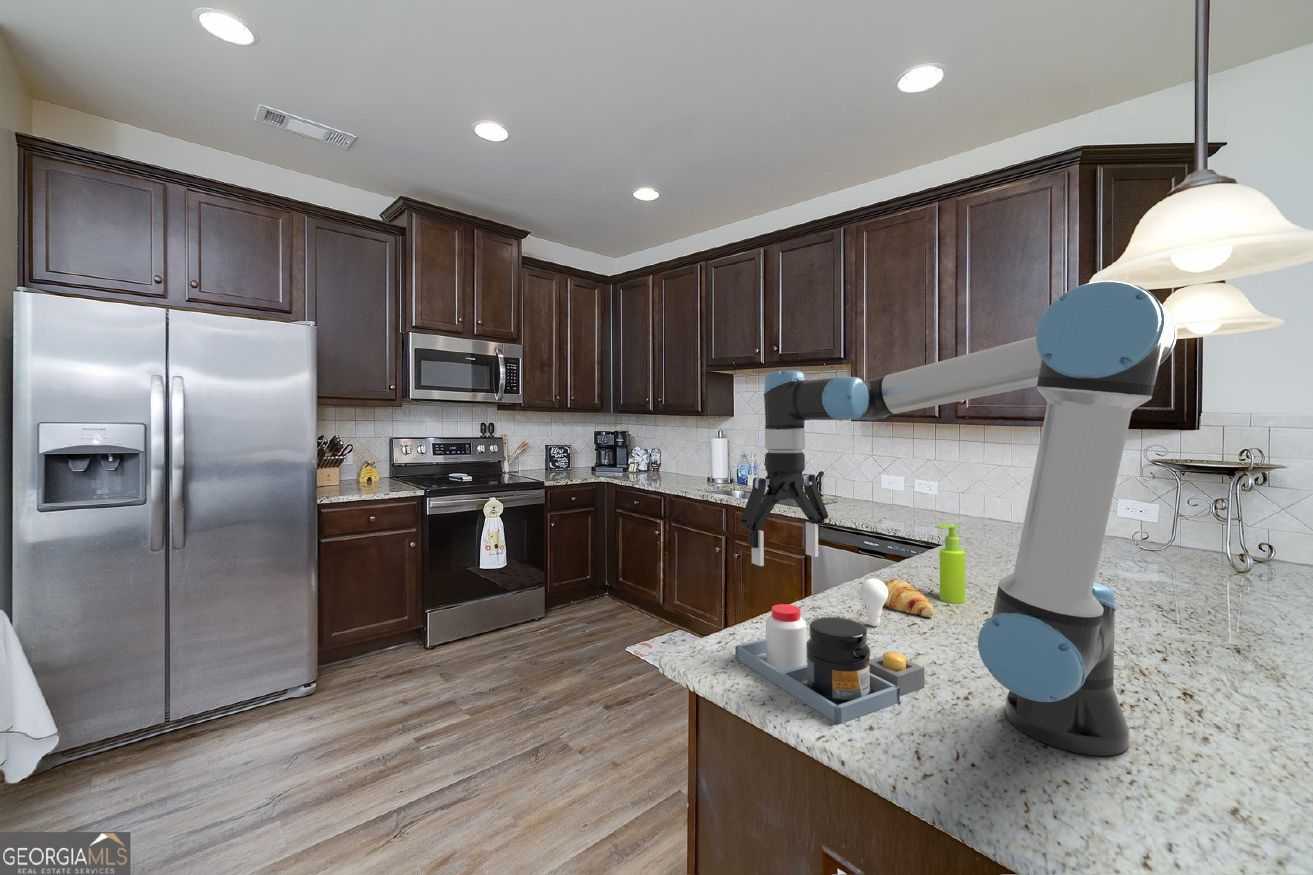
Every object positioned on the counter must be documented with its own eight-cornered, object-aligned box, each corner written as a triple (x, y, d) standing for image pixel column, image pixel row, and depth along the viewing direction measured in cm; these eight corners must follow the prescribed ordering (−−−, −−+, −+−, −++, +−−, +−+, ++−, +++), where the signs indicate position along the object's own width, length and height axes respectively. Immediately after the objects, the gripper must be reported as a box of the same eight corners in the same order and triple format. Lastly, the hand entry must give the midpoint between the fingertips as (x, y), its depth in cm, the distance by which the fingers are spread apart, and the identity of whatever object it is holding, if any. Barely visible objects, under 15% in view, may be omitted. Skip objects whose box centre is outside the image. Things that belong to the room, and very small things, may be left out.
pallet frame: (899, 702, 92) (899, 687, 92) (837, 724, 86) (837, 708, 85) (790, 644, 116) (790, 632, 116) (735, 658, 110) (735, 646, 110)
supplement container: (880, 710, 90) (880, 638, 89) (815, 710, 90) (815, 638, 89) (857, 680, 100) (857, 615, 100) (800, 680, 100) (799, 615, 100)
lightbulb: (875, 620, 130) (875, 574, 129) (894, 629, 124) (894, 581, 124) (854, 623, 128) (854, 576, 127) (872, 632, 122) (872, 584, 122)
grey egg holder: (924, 687, 97) (924, 667, 97) (897, 696, 94) (897, 676, 94) (891, 671, 103) (891, 653, 103) (865, 679, 100) (865, 661, 100)
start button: (910, 676, 98) (910, 658, 98) (896, 681, 96) (896, 662, 96) (892, 668, 101) (892, 650, 101) (878, 673, 99) (878, 654, 99)
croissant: (942, 632, 131) (954, 601, 132) (914, 618, 127) (927, 587, 128) (877, 603, 150) (888, 577, 151) (851, 590, 147) (863, 563, 148)
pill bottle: (805, 657, 110) (805, 603, 110) (808, 674, 102) (807, 616, 102) (766, 654, 112) (766, 601, 111) (766, 671, 104) (765, 614, 104)
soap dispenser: (931, 597, 146) (931, 522, 145) (955, 596, 146) (955, 522, 146) (945, 604, 140) (945, 527, 139) (970, 603, 141) (970, 526, 140)
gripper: (818, 448, 115) (819, 548, 115) (720, 452, 103) (721, 563, 104) (846, 449, 108) (846, 555, 109) (744, 454, 97) (745, 573, 97)
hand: (785, 560), depth 106 cm, fingers open, 13 cm apart
